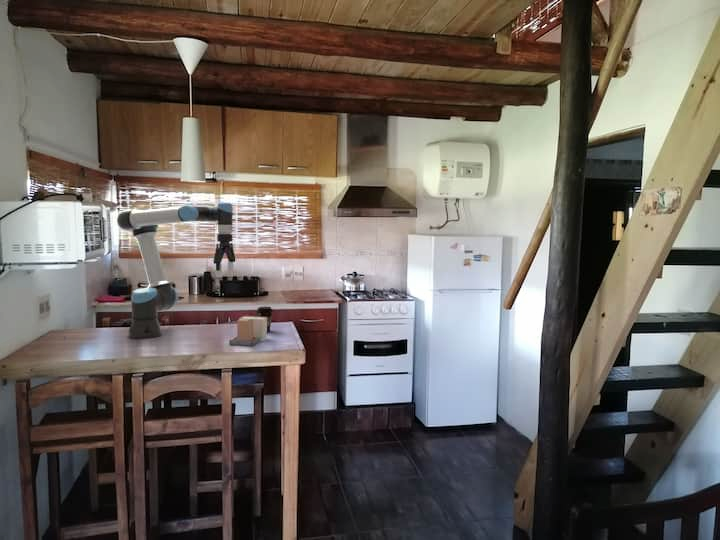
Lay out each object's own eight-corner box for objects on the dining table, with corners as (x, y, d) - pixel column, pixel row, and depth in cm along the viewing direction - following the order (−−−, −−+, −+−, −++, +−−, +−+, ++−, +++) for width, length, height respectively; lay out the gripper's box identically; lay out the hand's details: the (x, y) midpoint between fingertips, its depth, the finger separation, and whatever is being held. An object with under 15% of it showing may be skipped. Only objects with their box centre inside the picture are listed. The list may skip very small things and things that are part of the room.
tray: (229, 344, 227) (229, 340, 226) (237, 340, 236) (237, 335, 235) (252, 346, 225) (252, 341, 225) (259, 341, 234) (259, 337, 234)
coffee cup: (274, 330, 260) (274, 306, 259) (270, 333, 252) (270, 309, 251) (258, 329, 261) (259, 305, 260) (254, 332, 253) (254, 308, 252)
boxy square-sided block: (238, 340, 236) (238, 317, 235) (243, 337, 242) (243, 315, 241) (262, 341, 234) (262, 319, 233) (266, 338, 240) (266, 316, 239)
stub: (237, 343, 227) (237, 320, 226) (241, 340, 232) (241, 318, 231) (249, 344, 226) (249, 320, 225) (253, 341, 231) (253, 318, 230)
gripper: (220, 234, 228) (220, 278, 230) (241, 233, 252) (241, 273, 254) (205, 233, 229) (206, 277, 231) (228, 233, 253) (228, 273, 255)
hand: (224, 275), depth 243 cm, fingers open, 13 cm apart
